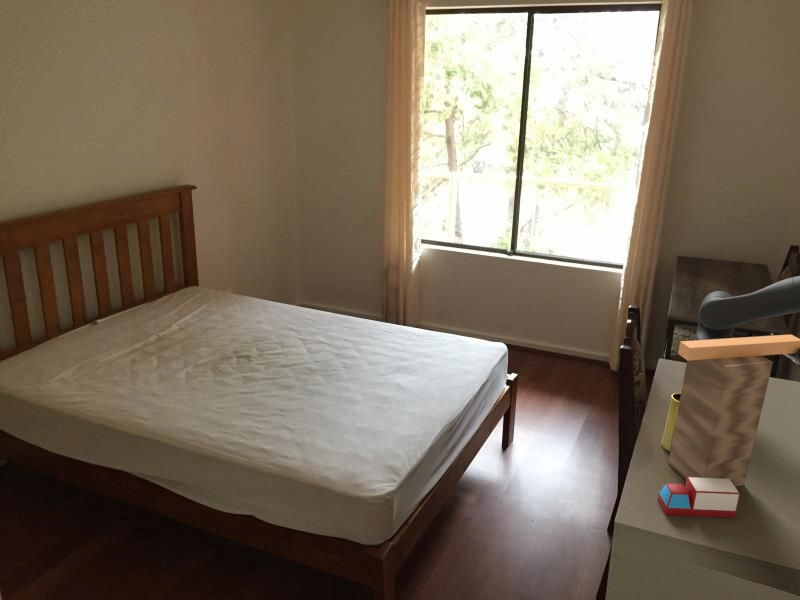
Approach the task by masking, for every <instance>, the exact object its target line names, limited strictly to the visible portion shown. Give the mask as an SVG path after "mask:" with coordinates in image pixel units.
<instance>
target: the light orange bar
mask: <svg viewBox="0 0 800 600" xmlns="http://www.w3.org/2000/svg"><path fill="white" fill-rule="evenodd" d="M694 340H695V339H694ZM694 340H684V341H683V340H682V341H681V340H680V341H679V347H678V352H677V354H678V355H679V356H681V357H682V358H683V359H684V360H686V362H687V361H688V360H703V359H718V358H732V357H747V356H773V355H774V356H775V355H784V354H789V355H791V353H796V352H797V351H798V349H799V348H800V338H799V337H797V336H795V335H793V334H792V333H791V334H778V335H776V334H775V335H774V336H769V335H763V336H762V335H760V336H747V337H746V336H745V337H732V338H726V339H711V340H695V341H694Z"/></svg>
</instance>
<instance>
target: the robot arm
mask: <svg viewBox="0 0 800 600" xmlns="http://www.w3.org/2000/svg"><path fill="white" fill-rule="evenodd" d="M796 313H800V275H797V276H792V277H788V278H785V279H782V280H779V281H777V282H774V283H772V284H770V285H767V286H765V287H763V288H761V289H758V290H757V291H754V292H751V293H747V294H743V295H742V294H741V295H737V296H736V295H735V296H733V294H731V293H729V292H727V291H724V290H715V291H713V292H710V293H708V294H707V295H706V296H705V297H704V298H703V300H702V303H701V304H700V307H699V310H698V323H697V329H696V332H695V335H694V340H693V341H695V340H711V339H726V338H733V333H734V328H735V327H737V326H739V325H743V324H745V323H748V322H753V321H755V320H756V321H757V320H761V319H766V318H767V319H768V318H774V317H779V316H785V315H789V314H796ZM774 335H776V334H775V333H772V332H771V333H770V334H769V335H768V336H774ZM783 355H784V356H785V357H787V358H789V359H790V360H792V361H793V362H794V363H795V364H797V365H798V371H799V372H800V348H799V349H798V351H797V352H796V353H791V354H783Z"/></svg>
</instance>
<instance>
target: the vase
mask: <svg viewBox="0 0 800 600" xmlns="http://www.w3.org/2000/svg"><path fill="white" fill-rule="evenodd" d="M680 397H681V392H675V393H674V392H673V393H672V394H671V396H670V400H669V405H668V406H669V407H668V412H667V416H666V421H665V426H664V429H663V433H662V440H661V442H660V445H661V447H662V448H663V449H665V450H666V451H667V452H670V451H671V446H672V440H673V435H674V429H675V424H676V418H677V413H678V408H679V402H680Z"/></svg>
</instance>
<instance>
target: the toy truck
mask: <svg viewBox="0 0 800 600" xmlns="http://www.w3.org/2000/svg"><path fill="white" fill-rule="evenodd" d="M685 480H686V479H685ZM740 496H741V493H740V492H739V491H738V489H737V486H734V485H733V483H732V482H731V480H730V479H720V478H696V477H688V478H687V480H686V481H685V484H682V483H669V482H668V483H665V485H664V486H663V487H662V489H661V490H660V492H659V493H658V496H657V501H658V504H659V505H660V507H661V509H662V512H663V513H664V514H665V515H666V516H680V517H681V516H683V517H686V516H687V517H702V518H704V517H705V518H706V517H707V518H727V519H728V518H731V519H732V518H733V519H735V516H736V512H737V508H738V504H739V500H740V499H739V498H740Z"/></svg>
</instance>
